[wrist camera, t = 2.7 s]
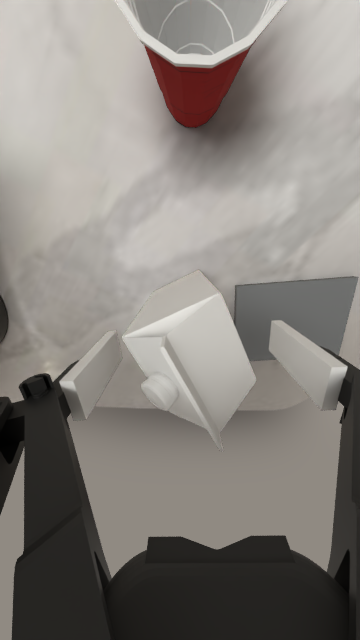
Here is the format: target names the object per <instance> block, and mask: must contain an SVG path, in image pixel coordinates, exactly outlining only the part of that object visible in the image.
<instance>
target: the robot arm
mask: <svg viewBox="0 0 360 640" xmlns="http://www.w3.org/2000/svg"><path fill="white" fill-rule="evenodd" d="M6 330H7V314H6V310H5V307H4V304H3V302H2V300H1V298H0V342H1V341H2V339H3V338H4V336H5V334H6ZM269 351H270V352H271V353H272V354H273V355H274V357H275V358H276V359H277V360H278V361H279V362H280V364H281V365H282V366H283V367H284V368H285V369H286V370H287V372H288V373H289V374H290V375H291V376H292V377H293V379H294V380H295V381H296V382H297V383H298V384H299V385H300V387H301V388H302V389H303V390H304V391H305V392H306V394H307V395H308V396H309V397H310V398H311V399H312V400H313V402H314V403H315V404H316V405H317V406H318V407H319V408H320V409H321V410H336V407H337V404H338V401H339V402H340V403H341V404H342V405H343V406H344V410H343V413H342V417H341V420H340V423H341V424H342V428H341V440H340V451H339V463H338V476H337V488H336V500H335V511H334V523H333V535H332V546H331V554H330V560H329V564H328V569H327V572H326V571H324V570H323V569H322V568H321V567H320V566H318V565H317V564H316V563H314V562H313V561H311V560H310V559H308V558H307V557H305V556H303V555H301V554H299V553H297V552H295V551H293V550H290V547H289V545H288V542H287V539H286V536H250V537H247V538H245V539H243V540H240V541H238V542H236V543H233V544H231V545H229V546H226V547H224V548H222V549H218V550H216V549H212V548H210V547H207V546H204V545H202V544H199V543H197V542H194V541H191V540H188V539H186V538H183V537H149V538H148V546H147V550H146V551H143V552H141V553H140V554H138V555H136V556H135V557H133V558H132V559H131V560H129V561H128V562H127V563H126V564H125V565H124V566H123V567H122V568H121V569H120V570H119V571H118V572H117V573H116V574H115V575H114V577H113V578H111V575H110V572H109V569H108V566H107V563H106V560H105V557H104V553H103V550H102V546H101V543H100V539H99V535H98V532H97V528H96V524H95V520H94V517H93V513H92V509H91V506H90V502H89V499H88V495H87V491H86V488H85V484H84V480H83V476H82V473H81V469H80V465H79V461H78V458H77V454H76V451H75V447H74V443H73V439H72V436H71V432H70V428H69V425H68V422H67V417H68V416H69V414H70V413H71V415H72V418H73V420H74V421H77V420H87V418H88V417H89V415H90V413H91V411H92V410H93V408H94V406H95V405H96V403H97V401H98V399H99V398H100V396H101V394H102V393H103V391H104V389H105V387H106V386H107V384H108V382H109V381H110V379H111V377H112V375H113V374H114V372H115V370H116V369H117V367H118V365H119V363H120V362H121V360H122V353H121V348H120V344H119V339H118V334H117V331H108V332H107V333H106V334H105V335H104V336H103V337H102V338H101V339H100V340H99V341H98V342H97V343H96V344H95V345H94V346H93V347H92V348H91V349H90V350H89V351H88V352H87V353H86V354H85V355H84V356H83V357H82V358H81V360H77V361H76V362H74V363H73V364H71V365H70V366H69V367H68V368H67V369H66V370H65V371H64V372H63V373H62V374H61V375H60V376H59V377H58V378H57V379H56V380H55V381H54V382H53V383H52V380H51V377H50V375H49V374H46V373H43V374H38V375H34V376H32V377H30V378H28V379H26V380H25V381H23V382H22V383H21V384H20V386H19V389H20V391H21V393H22V395H23V398H24V400H23V401H19V402H15V403H11V401H10V399H9V398H8V397H0V514H1V512H2V509H3V506H4V503H5V500H6V497H7V494H8V491H9V489H10V486H11V483H12V480H13V477H14V474H15V471H16V468H17V466H18V463H19V460H20V457H21V454H22V451H23V448H24V446H25V462H24V464H25V465H24V466H25V467H24V468H25V469H24V473H25V475H24V478H25V479H24V551H23V555H21V556H20V557H19V558H18V559H17V562H16V565H15V573H14V593H13V594H14V595H13V620H12V622H13V623H12V640H360V370H359V369H358V368H356V367H355V366H353V365H352V364H350V363H349V362H347V361H346V360H344V359H342V358H341V357H340V356H338V355H336V354H335V353H334V352H332V351H331V350H329V349H326V348H324V347H322V346H317V345H316V344H315V343H313V342H312V341H310V340H309V339H307V338H306V337H305V336H303V335H302V334H300V333H299V332H297V331H296V330H295V329H293V328H292V327H290V326H289V325H287V324H286V323H284V322H283V321H282V320H274V321H271V331H270V342H269Z"/></svg>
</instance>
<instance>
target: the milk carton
mask: <svg viewBox="0 0 360 640" xmlns="http://www.w3.org/2000/svg"><path fill="white" fill-rule="evenodd" d="M121 338H122V340H123V342H124V343H125V345H126V346H127V348H128V349H129V351H130V353H131V354H132V356H133V357H134V359H135V360H136V362H137V363H138V365H139V366H140V368H141V369H142V371H143V372H144V374H145V375H146V377H147V378H148V379H146V380H145V381H144V382H143V383H142V385H141V388H142V391H143V393H144V394H145V396H146V397H147V398H148V400H149V401H150V402H151V403H152V404H153V405H155V406H156V407H158V408H159V409H161V410H164V411H168V410H169V411H170V412H171V413H172V414H174V415H176V416H179V417H181V418H183V419H185V420H188V421H190V422H192V423H194V424H197V425H198V426H200V427H203V428H205V429H207V430H208V432H209V434H210V436H211V437H212V439H213V440H214V442H215V444H216V446H217V448H218V449H219V451H220V452H222V451H224V449H223V445H222V440H221V435H220V433H221V431H222V430H223V428H224V427H225V425H226V424H227V423H228V421H229V420H230V418H231V417H232V415H233V414H234V412H235V411H236V410H237V408H238V407H239V405H240V404H241V402H242V401H243V400H244V398H245V397H246V395H247V394H248V392H249V391H250V389H251V388H252V387H253V385H254V384H255V382H256V377H255V374H254V372H253V369H252V367H251V364H250V362H249V359H248V357H247V355H246V352H245V350H244V347H243V345H242V342H241V340H240V337H239V335H238V332H237V330H236V327H235V325H234V323H233V320H232V318H231V315H230V313H229V310H228V308H227V305H226V303H225V301H224V298H223V296H222V294H221V293H220V292H219V291H218V290H217V288H216V287H215V286H214V285H213V284H212V283H211V282H210V281H209V280H208V279H207V278H206V277H205V276H204V275H203V274H202V272H201V271H200V270H197V271H195V272H193V273H191V274H189V275H186V276H184V277H182V278H180V279H178V280H176V281H174V282H172V283H170V284H168V285H166V286H164V287H162V288H160V289H158V290H156V291H154V292H153V293H152V294H151V296H150V297H149V299H148V300H147V301H146V303H145V304H144V306H143V307H142V309H141V310H140V312H139V313H138V314H137V316H136V317H135V319H134V320H133V322H132V323H131V324H130V326H129V327H128V329H127V330H126V332H125V333H124V335H123V336H122V337H121Z"/></svg>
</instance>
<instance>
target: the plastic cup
mask: <svg viewBox="0 0 360 640" xmlns="http://www.w3.org/2000/svg"><path fill="white" fill-rule="evenodd" d="M287 1H288V0H115V2H116V3H117V5H118V6H119V8H120V10H121V11H122V13H123V14H124V16H125V17H126V19H127V20H128V22H129V24H130V25H131V27H132V28H133V30H134V31H135V33H136V34H137V36H138V38H139V39H140V41H141V42H142V44H144V46H145V48H146V51H147V54H148V57H149V59H150V62H151V65H152V68H153V70H154V73H155V76H156V79H157V82H158V84H159V87H160V89H161V91H162V92H163V96H164V99H165V102H166V105H167V108H168V109H169V111H170V112H171V114H172V115H173V117H174V118H175V120H176V121H177V122H179V123H181V124H182V125H184V126H185V127H195V128H196V127H198V126H200V125H203V124H205V123H206V122H207V121H208V120H209V119H210V118H211V117H212V116H213V115H214V113H215V112H216V111H217V109H218V107H219V105H220V103H221V101H222V99H223V97H224V96H225V95H226V94H227V92H228V90H229V88H230V86H231V84H232V82H233V80H234V78H235V76H236V74H237V72H238V70H239V69H240V67H241V65H242V63H243V61H244V59H245V57H246V55H247V53H248V51H249V49H250V47H251V46H252V45H253V43H254V42H255V41H256V39H257V38H258V37H259V35H260V34H261V33H262V32H263V31H264V29H265V28H266V27H267V26H268V25H269V23H270V22H271V21H272V20H273V19H274V17H275V16H276V15H277V14H278V13H279V11H280V10H281V9H282V8H283V6H284V5H285V4H286V2H287Z"/></svg>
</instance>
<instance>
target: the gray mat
mask: <svg viewBox="0 0 360 640" xmlns="http://www.w3.org/2000/svg"><path fill="white" fill-rule="evenodd" d="M357 281H358V277H354V276H352V277H339V278H326V279H312V280H299V281H286V282H273V283H260V284H247V285H235V316H234V325H235V327H236V330H237V332H238V335H239V337H240V340H241V342H242V345H243V347H244V350H245V352H246V355H247V357H248V359H249V361H259V360H275V359H276V358H275V357H274V355H273V354H272V353H271V352H270V351H269V342H270V331H271V321H274V320H282V321H283V322H284V323H286V324H287V325H289V326H290V327H292V328H293V329H295V330H296V331H297V332H299V333H300V334H302V335H303V336H305V337H306V338H307V339H309V340H310V341H312V342H313V343H315V344H316V345H317V346H322V347H324V348H326V349H329V350H331V351H332V352H334V353H335V354H336V355H339V351H340V347H341V343H342V339H343V336H344V332H345V328H346V324H347V320H348V316H349V312H350V308H351V304H352V300H353V297H354V293H355V289H356V285H357Z"/></svg>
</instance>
